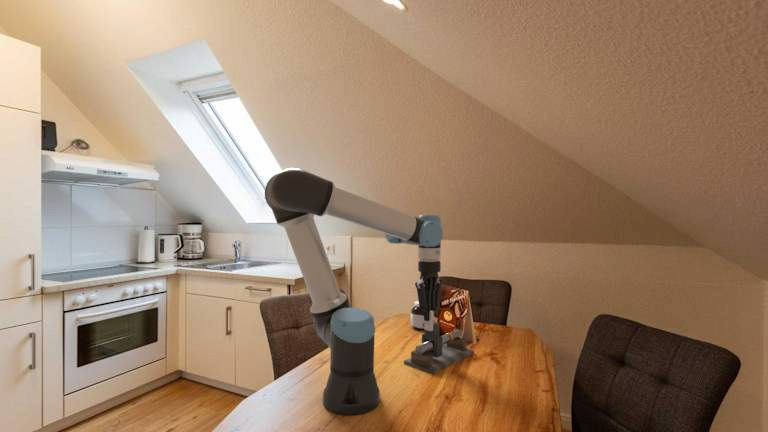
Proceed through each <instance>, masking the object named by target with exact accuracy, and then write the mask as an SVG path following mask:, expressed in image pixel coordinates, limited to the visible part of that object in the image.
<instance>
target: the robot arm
mask: <svg viewBox="0 0 768 432" xmlns="http://www.w3.org/2000/svg"><path fill="white" fill-rule="evenodd" d="M265 185H266V186H265V187H264V188H265V189H264V200H265V202H266V204H267V205H268V207H269V208H270V209H271V211H272V213H273V216H274V219H275V221H276V223H277V225H278V226H280V227H283V228H284V229H285V233H286V235H287V237H288V240H289V243H290V245H291V248H292V250H293V253H294V257H295V259H296V262H297V264H298V268H299V269H300V272H301V275H302V277H303V280H304V283H305V285H306V288H307V291H308V293H309V296H310V299H311V301H312V304H311V306H310V309H309V311H310V314H311V317H312V319H313V322H312V323H313V328H314V331H315V334H316V335H317V336H318V337H319V339H320V340H322V341H323V342H324V343H325V344H326V346H328V348H329V349H330V357H329V359H330V360H329V361H330V367H329V368H330V371H329V374H328V378H327V381H326V385H325V388H324V390H323V391H322V403H323V406H324V407H325V408H326V410H328V411H330V412H332V413H335V414H339V415H346V416H352V415H353V416H355V415H356V416H357V415H362V414H365V413H368V412H371V411H372V410H374V409H375V408H377V407H378V405H379V404H380V399H381V397H380V396H381V393H380V388H379V387H378V382H377V379H376V374H375V369H374V367H375V366H374V365H375V364H374V363H375V332H376V326H375V317H374V316H373V314H372V313H371V312H369V311H367V310H365V309H360V308H359V307H352V306H351V303H350V301H349V297H348V296H347V294H345V293H344V292H341V291H340V288H339V285H338V282H337V279H336V276H335V275H334V274H335V273H334V272H333V268H332V266H331V263H330V260H329V257H328V255H327V252H326V250H325V246H324V244H323V240H322V239H321V235H320V233H319V230H318V227H317V225H316V224H317V223H316V221H315V219H314V217H315V216H318V217H323V216H325V215H328V216H330V217H333V218H336V219H339V220H342V221H346V222H349V223H351V224H355V225H358V226H360V227H364V228H367V229H370V230H372V231H376V232H378V233H382V234H384V235H385V239H386V241H387V242H388V243H390V244H396V245H398V244H405V245H413V246H417V247H418V248H417V249H418V251H417V253H418V254H417V256H418V258H417V259H419V260H418V263H417V267H418V269H417V270H418V272H419V273H420V276H419V280H418V282H415V284H414V286H415V289H416V291H417V299H418V300H417V301H419V307H420V309H421V310H423V311H424V330H423V331H425V330H428V331H433V319H434V317H435V314H434V313H435V311H437V310H438V309H437V308H438V307H439V301H440V294H441V288H442V285H443V284H442V283H443V279H442V278H439V273H440V272H441V270H442V269H441V261H440V260H441V257H442V256H441V245H442V243H441V242H442V239H443V238H444V236H443V235H444V231H443V228H442V220H441V216H440V215H439V214H420V215H419V216H418V217H417V216H413V215H412V214H408V213H406V212H404V211H400V210H398V209H396V208H392V207H390V206H388V205H385V204H382V203H379V202H376V201H374V200H371V199H368V198H365V197H362V196H360V195H357V194H355V193H353V192H350V191H347V190H344V189H341V188H339V187H336V185H335V183H334V181H330V180H328V179H326V178H323V177H320V176H318V175H316V174H314V173H312V172H309V171H306V170H304V169H301V168H295V167H290V168H285V169H283V170H281V171H279V172H278V173H276V174H275V175H273V176H271V178H269V180H268V181H267V182H266V184H265ZM434 320H435V319H434Z"/></svg>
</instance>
